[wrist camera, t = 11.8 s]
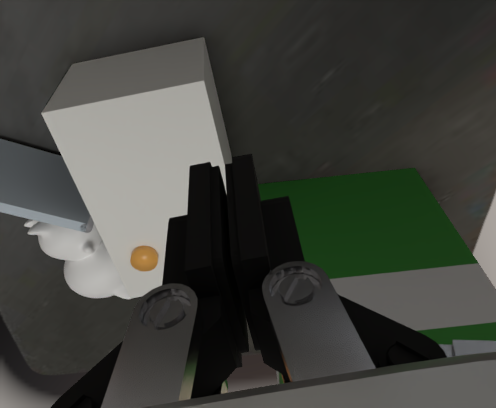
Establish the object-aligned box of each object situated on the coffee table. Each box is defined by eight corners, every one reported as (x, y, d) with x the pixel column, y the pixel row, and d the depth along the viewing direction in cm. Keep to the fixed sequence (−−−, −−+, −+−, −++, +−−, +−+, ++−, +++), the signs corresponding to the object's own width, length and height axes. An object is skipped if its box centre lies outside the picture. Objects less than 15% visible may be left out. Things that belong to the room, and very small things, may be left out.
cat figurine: (23, 250, 42) (104, 328, 49) (117, 175, 45) (183, 259, 52) (10, 221, 49) (83, 293, 56) (92, 158, 52) (153, 233, 59)
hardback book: (414, 167, 52) (539, 354, 32) (406, 220, 56) (511, 412, 37) (253, 184, 51) (282, 382, 32) (257, 236, 56) (285, 438, 37)
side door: (-66, 129, 44) (-118, 183, 37) (-65, 105, 43) (-119, 156, 36) (107, 177, 49) (90, 233, 42) (113, 156, 47) (97, 211, 40)
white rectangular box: (71, 64, 42) (37, 118, 34) (204, 36, 42) (204, 84, 33) (146, 245, 55) (135, 318, 47) (247, 226, 55) (256, 296, 46)
